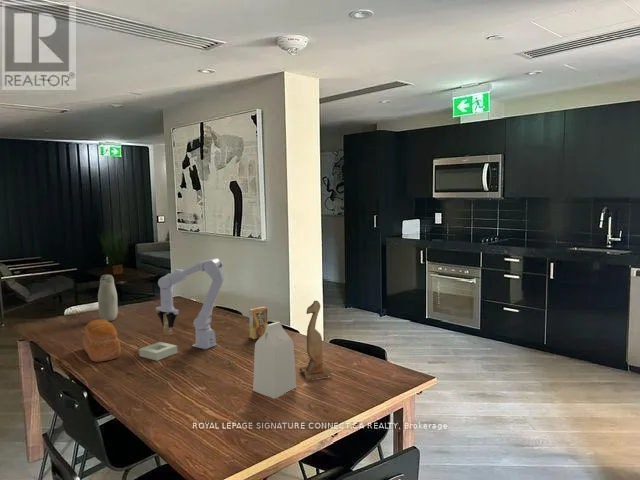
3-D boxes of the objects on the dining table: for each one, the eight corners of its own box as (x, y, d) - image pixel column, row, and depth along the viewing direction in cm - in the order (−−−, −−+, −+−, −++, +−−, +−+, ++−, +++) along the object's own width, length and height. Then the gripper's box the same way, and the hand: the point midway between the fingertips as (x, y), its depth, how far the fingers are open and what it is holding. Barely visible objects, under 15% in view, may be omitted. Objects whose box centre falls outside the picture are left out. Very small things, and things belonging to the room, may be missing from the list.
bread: (91, 364, 207) (89, 331, 206) (82, 348, 229) (80, 318, 227) (123, 358, 215) (121, 326, 214) (111, 343, 236) (109, 314, 235)
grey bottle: (95, 322, 275) (93, 275, 273) (108, 317, 285) (105, 272, 282) (109, 323, 273) (107, 276, 270) (121, 319, 282) (119, 273, 279)
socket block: (177, 352, 221) (177, 345, 221) (156, 360, 211) (156, 353, 211) (160, 348, 228) (160, 341, 227) (139, 356, 217) (139, 348, 217)
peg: (174, 331, 233) (173, 313, 232) (167, 333, 230) (166, 315, 229) (168, 329, 235) (167, 312, 234) (162, 331, 232) (161, 314, 231)
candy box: (263, 334, 250) (263, 306, 248) (268, 336, 247) (267, 307, 245) (249, 337, 244) (248, 308, 243) (253, 339, 241) (252, 310, 239)
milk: (275, 380, 188) (274, 317, 185) (296, 388, 180) (295, 322, 178) (253, 390, 178) (251, 324, 176) (274, 398, 171) (273, 330, 169)
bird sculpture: (297, 372, 197) (294, 299, 193) (323, 368, 201) (321, 295, 197) (306, 383, 186) (303, 305, 182) (333, 378, 190) (331, 301, 186)
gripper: (183, 300, 231) (184, 326, 232) (163, 296, 238) (164, 322, 239) (172, 302, 225) (173, 330, 226) (151, 299, 232) (153, 326, 233)
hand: (167, 326), depth 232 cm, fingers closed on peg, 4 cm apart
